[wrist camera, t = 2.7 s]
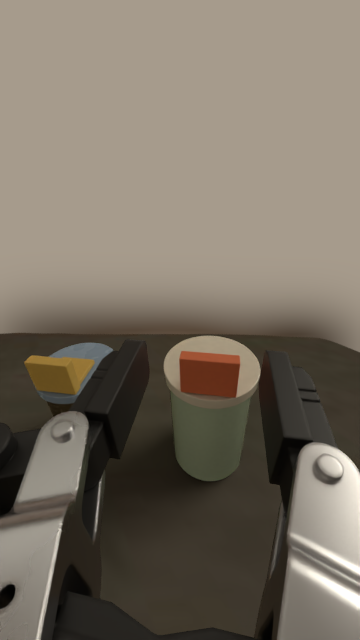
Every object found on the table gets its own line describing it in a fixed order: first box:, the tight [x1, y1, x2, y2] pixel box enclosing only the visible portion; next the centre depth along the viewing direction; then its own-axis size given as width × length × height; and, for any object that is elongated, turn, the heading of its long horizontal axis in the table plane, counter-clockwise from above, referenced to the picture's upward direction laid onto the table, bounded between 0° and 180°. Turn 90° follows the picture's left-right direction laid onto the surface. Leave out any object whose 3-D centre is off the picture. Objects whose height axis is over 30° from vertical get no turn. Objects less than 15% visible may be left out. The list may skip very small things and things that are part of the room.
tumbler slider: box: [24, 356, 95, 395], centre depth 24 cm, size 4×4×4 cm
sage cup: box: [164, 336, 260, 481], centre depth 27 cm, size 9×9×13 cm
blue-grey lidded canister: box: [34, 343, 113, 417], centre depth 30 cm, size 8×8×11 cm
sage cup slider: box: [179, 351, 240, 398], centre depth 21 cm, size 4×5×4 cm
